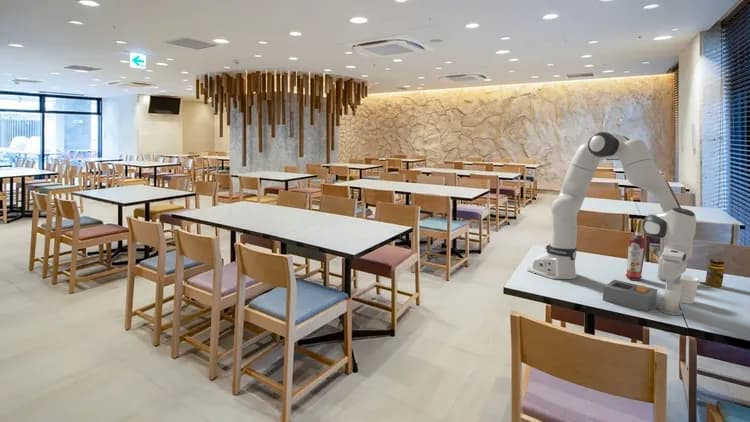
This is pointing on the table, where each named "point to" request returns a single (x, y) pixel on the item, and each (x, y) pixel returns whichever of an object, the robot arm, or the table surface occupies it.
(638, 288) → the orange round ball
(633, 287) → the housing
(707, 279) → the condiment
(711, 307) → the table surface
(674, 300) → the cartridge
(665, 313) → the coaster
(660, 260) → the can
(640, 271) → the liquor
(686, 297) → the white cup
